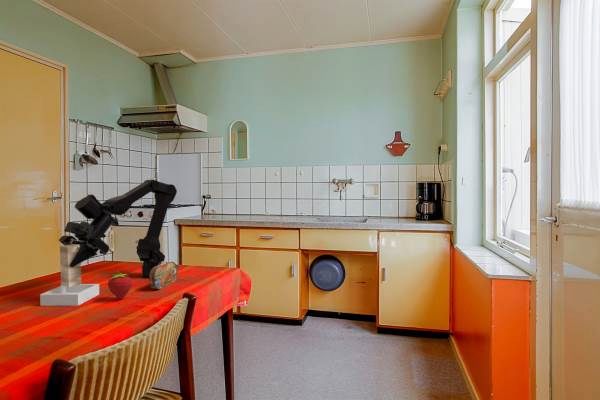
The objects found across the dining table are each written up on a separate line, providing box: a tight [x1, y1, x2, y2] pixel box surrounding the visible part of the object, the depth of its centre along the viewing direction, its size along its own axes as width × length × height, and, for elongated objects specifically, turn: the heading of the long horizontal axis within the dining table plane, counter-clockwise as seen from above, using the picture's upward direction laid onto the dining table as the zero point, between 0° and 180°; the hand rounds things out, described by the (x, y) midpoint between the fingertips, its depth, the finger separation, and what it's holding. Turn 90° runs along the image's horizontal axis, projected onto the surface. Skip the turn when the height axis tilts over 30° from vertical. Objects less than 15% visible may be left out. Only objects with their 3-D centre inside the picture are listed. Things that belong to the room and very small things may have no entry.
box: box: [39, 283, 100, 307], centre depth 115 cm, size 12×12×4 cm
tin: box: [148, 261, 179, 290], centre depth 131 cm, size 15×3×8 cm, turn 168°
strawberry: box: [107, 271, 134, 301], centre depth 115 cm, size 6×8×10 cm
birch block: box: [59, 244, 82, 287], centre depth 114 cm, size 4×4×13 cm
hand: (66, 265), depth 113 cm, fingers closed on birch block, 4 cm apart
